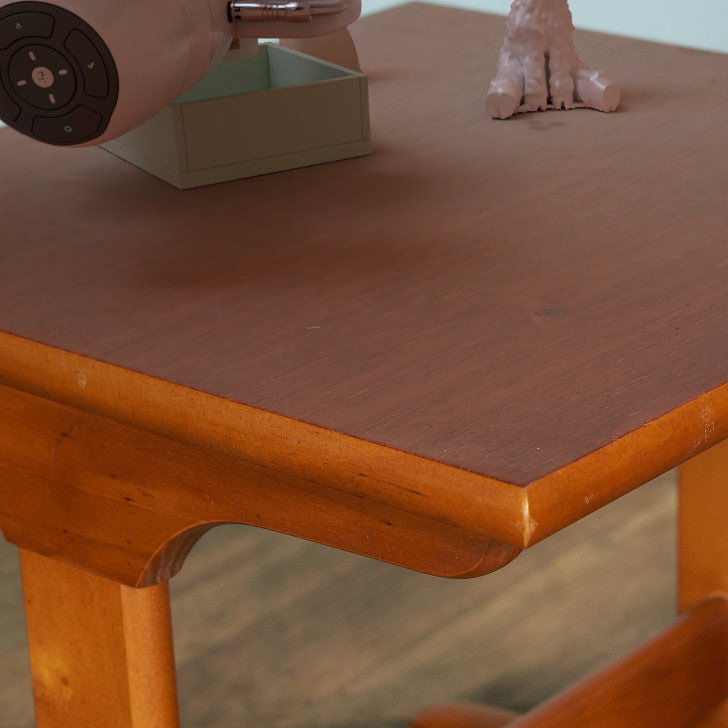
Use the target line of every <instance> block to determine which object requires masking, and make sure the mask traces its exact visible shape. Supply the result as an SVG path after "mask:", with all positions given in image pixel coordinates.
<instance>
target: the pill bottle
mask: <svg viewBox="0 0 728 728" xmlns="http://www.w3.org/2000/svg"><path fill="white" fill-rule="evenodd" d="M258 43H259V39H248V38H233V39H232V42H231V45H230V47H229V49H228V51H227V53H226V55H225V57H224V58H223V60H222V61H221V62H234V61H242V60H246V59H249V58H252V57H254V56H255V55H256V54H257V53H258V51H259V45H258Z"/></svg>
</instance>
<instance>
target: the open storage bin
mask: <svg viewBox="0 0 728 728" xmlns="http://www.w3.org/2000/svg"><path fill="white" fill-rule="evenodd" d="M258 45H259V51H258V53H257V54H256V55H255V56H254V57H252V58H249V59H246V60H242V61H234V62H220V64H219V65H218V66H217V67H216V68H215V69H214V70H213V71H212V72H211V73H210V74H208V75H207V76H206V77H205V78H203V79H202V80H201V81H199V82H198V83H197V84H195V85H194V86H193V87H192V88H190V89H189V90H188V91H186V92H185V93H184V94H182V95H181V96H179V97H178V98H176V99H174V100H172V101H171V102H170V103H169V104H168V105H167V106H166V107H165V108H164V109H163V110H162V111H160V112H159V113H158V114H157V115H155V116H154V117H152V118H151V119H149V120H148V121H146V122H145V123H144V124H142V125H140V126H139V127H137V128H136V129H134V130H132V131H130V132H128V133H126V134H125V135H123V136H121V137H119V138H116V139H114V140H111V141H108V142H106V143H103V144H100V145H97V146H98V147H100V148H102V149H104V150H105V151H107V152H109V153H111V154H113V155H114V156H116V157H119V158H120V159H122V160H124V161H126V162H128V163H130V164H131V165H133V166H136V167H137V168H139V169H141V170H143V171H145V172H147V173H148V174H151V175H152V176H154V177H156V178H158V179H159V180H162V181H163V182H166V183H168V184H169V185H171V186H173V187H175V188H177V189H179V190H188V189H193V188H199V187H205V186H209V185H214V184H215V185H216V184H219V183H226V182H230V181H236V180H240V179H246V178H251V177H256V176H262V175H268V174H273V173H279V172H283V171H289V170H293V169H294V170H295V169H299V168H304V167H305V168H306V167H310V166H316V165H322V164H326V163H332V162H337V161H341V160H347V159H353V158H359V157H363V156H368V155H372V140H371V138H372V135H371V133H372V132H371V117H370V104H369V103H370V99H369V78H368V79H367V77H368V75H367V74H365V73H364V74H362V73H359V72H356V71H353V70H350V69H347V68H345V67H342V66H339V65H336V64H333V63H330V62H327V61H324V60H321V59H319V58H316V57H313V56H310V55H307V54H304V53H301V52H298V51H295V50H292V49H290V48H287V47H284V46H281V45H279V43H275V42H272V41H266V42H258Z"/></svg>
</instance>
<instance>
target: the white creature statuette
mask: <svg viewBox="0 0 728 728" xmlns="http://www.w3.org/2000/svg"><path fill="white" fill-rule="evenodd" d="M509 6H510V11H509V12H508V13H507V20H506V21H505V25H504V27H505V36H504V37H503V44H502V47H500V49H499V51H498V55H499V56H498V57H497V65H496V66H495V70H496V74H495V77H494V78H493V79H490V82H489V83H488V91H487V94H486V97H485V106H486V109H487V112H488V113H489V115H491V117H492V118H495V119H501V118H502V119H501V120H506V119H508V118H507V117H510V118H511V117H512V116H513V114H517V113H516V112H522V113H524V112H523V111H531V112H533V111H536V112H537V111H538V110H540V111H542V110H544V111H547V109H546V108H552V109H554V108H555V110H557V109H560V110H561V109H562V107H563V106H564V109H565V110H570V109H569V108H572V109H576V108H575V107H585V106H589V107H591V108H590V109H593V108H595V109H594V110H596V109H598V110H597V111H599V110H600V112H604V113H610V112H614V111H615V110H616V108H617V107H618V105H619V103H620V98H621V90H620V88H619V86H618V84H616V83H615V82H614V81H612V80H611V78H610V77H609V75H608V73H607V72H606V71H605V70H604V69H597V68H596V67H589V66H585V64H584V63H583V62H582V60H581V59H580V57H579V54H577V52H576V46H575V45H574V39H573V34H574V32H575V30H576V28H575V26H574V24H573V14H572V11H571V9H570V4H569V3H568V0H513V1H512V2H511V3H510V5H509ZM547 100H552V102H551V104H548V101H547ZM523 102H524V103H523ZM520 104H521V105H520ZM589 107H588V108H589ZM538 108H540V109H538ZM505 118H506V119H505Z"/></svg>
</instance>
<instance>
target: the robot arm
mask: <svg viewBox="0 0 728 728" xmlns="http://www.w3.org/2000/svg"><path fill="white" fill-rule="evenodd" d="M362 5H363V3H362V0H0V122H1V123H3V124H4V125H5V126H7V127H8V128H9V129H11V130H13V131H14V132H16V133H17V134H19V135H20V136H23V137H25V138H27V139H30V140H31V141H35V142H37V143H39V144H43V145H45V146H46V145H47V146H52V147H56V148H64V149H65V148H66V149H80V148H81V149H82V148H90V147H94V146H98V145H100V144H103V143H106V142H108V141H111V140H114V139H116V138H119V137H121V136H123V135H125V134H126V133H128V132H130V131H132V130H134V129H136V128H137V127H139V126H140V125H142V124H144V123H145V122H146V121H148V120H149V119H151V118H152V117H154V116H155V115H157V114H158V113H159V112H160V111H162V110H163V109H164V108H165V107H166V106H167V105H168V104H169V103H170V102H171V101H172V100H174V99H176V98H178V97H179V96H181V95H182V94H184V93H185V92H186V91H188V90H189V89H190V88H192V87H193V86H194V85H195V84H197V83H198V82H199V81H201V80H202V79H203V78H205V77H206V76H207V75H208V74H210V73H211V72H212V71H213V70H214V69H215V68H216V67H217V66H218V65H219V64H220V62H221V61H222V60H223V58H224V57H225V55H226V53H227V51H228V49H229V47H230V45H231V42H232V39H233V38H248V39H258V40H261V39H263V40H264V39H265V40H267V39H269V40H271V39H273V40H274V39H275V40H279V39H302V38H314V37H320V36H325V35H328V34H331V33H334V32H336V31H338V30H340V29H342V28H344V27H346V26H347V27H348V26H350V25H351V24H353V23H355V22H356V21H358V20H359V18H360V17H361V15H362Z"/></svg>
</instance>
